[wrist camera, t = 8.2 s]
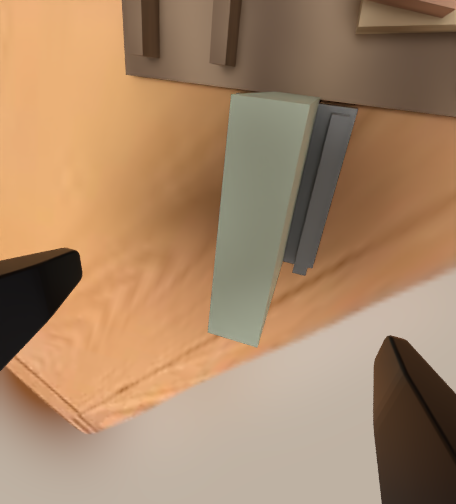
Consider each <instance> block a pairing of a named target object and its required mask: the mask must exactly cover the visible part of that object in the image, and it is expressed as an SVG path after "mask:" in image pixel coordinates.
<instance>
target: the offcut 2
mask: <svg viewBox="0 0 456 504" xmlns="http://www.w3.org/2000/svg"><path fill="white" fill-rule="evenodd" d="M439 32H456V9H455V10H454V11H452V12H451V13H449V14H448V15H446V16H445V17H443V18H439V17H434V16H430V15H426V14H422V13H418V12H414V11H410V10H406V9H402V8H397V7H393V6H389V5H385V4H381V3H377V2H373V1H369V0H361V5H360V11H359V16H358V22H357V27H356V33H355V34H386V33H439Z"/></svg>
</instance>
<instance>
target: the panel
mask: <svg viewBox="0 0 456 504" xmlns="http://www.w3.org/2000/svg"><path fill="white" fill-rule="evenodd" d="M319 101H320V97H313V96H305V95H298V94H290V93H282V92H275V91H273V92H258V93H242V94H231V101H230V111H229V122H228V132H227V142H226V152H225V162H224V172H223V183H222V193H221V203H220V213H219V223H218V233H217V244H216V254H215V264H214V274H213V284H212V294H211V305H210V315H209V325H208V333H211V334H215V335H218V336H221V337H224V338H228V339H231V340H234V341H237V342H241V343H244V344H247V345H251V346H254V347H258V344H259V340H260V337H261V334H262V330H263V327H264V323H265V320H266V317H267V313H268V310H269V306H270V303H271V300H272V296H273V293H274V289H275V286H276V283H277V279H278V276H279V272H280V269H281V266H282V262H283V258H284V253H285V249H286V245H287V240H288V236H289V232H290V227H291V223H292V219H293V214H294V210H295V206H296V201H297V197H298V192H299V188H300V184H301V179H302V175H303V171H304V166H305V162H306V158H307V153H308V149H309V144H310V140H311V136H312V131H313V127H314V123H315V118H316V114H317V110H318V105H319Z"/></svg>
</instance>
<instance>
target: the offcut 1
mask: <svg viewBox="0 0 456 504" xmlns="http://www.w3.org/2000/svg"><path fill="white" fill-rule="evenodd" d="M369 1H373V2H377V3H381V4H385V5H389V6H393V7H397V8H402V9H406V10H410V11H414V12H418V13H422V14H426V15H430V16H434V17H439V18H443V17H445V16H446V15H448V14H449V13H451V12H452V11H454V10H455V9H456V0H369Z"/></svg>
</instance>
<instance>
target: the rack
mask: <svg viewBox="0 0 456 504" xmlns="http://www.w3.org/2000/svg"><path fill="white" fill-rule="evenodd" d="M360 5H361V0H122V11H123V30H124V48H125V66H126V75H133V76H141V77H148V78H156V79H164V80H172V81H179V82H187V83H195V84H203V85H211V86H218V87H226V88H234V89H242V90H249V91H257V92H273V91H275V92H282V93H290V94H298V95H305V96H313V97H320V100H327V101H335V102H343V103H351V104H358V105H366V106H374V107H382V108H389V109H397V110H405V111H413V112H421V113H428V114H436V115H444V116H452V117H456V32H439V33H386V34H355V33H356V27H357V22H358V16H359V11H360Z"/></svg>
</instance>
